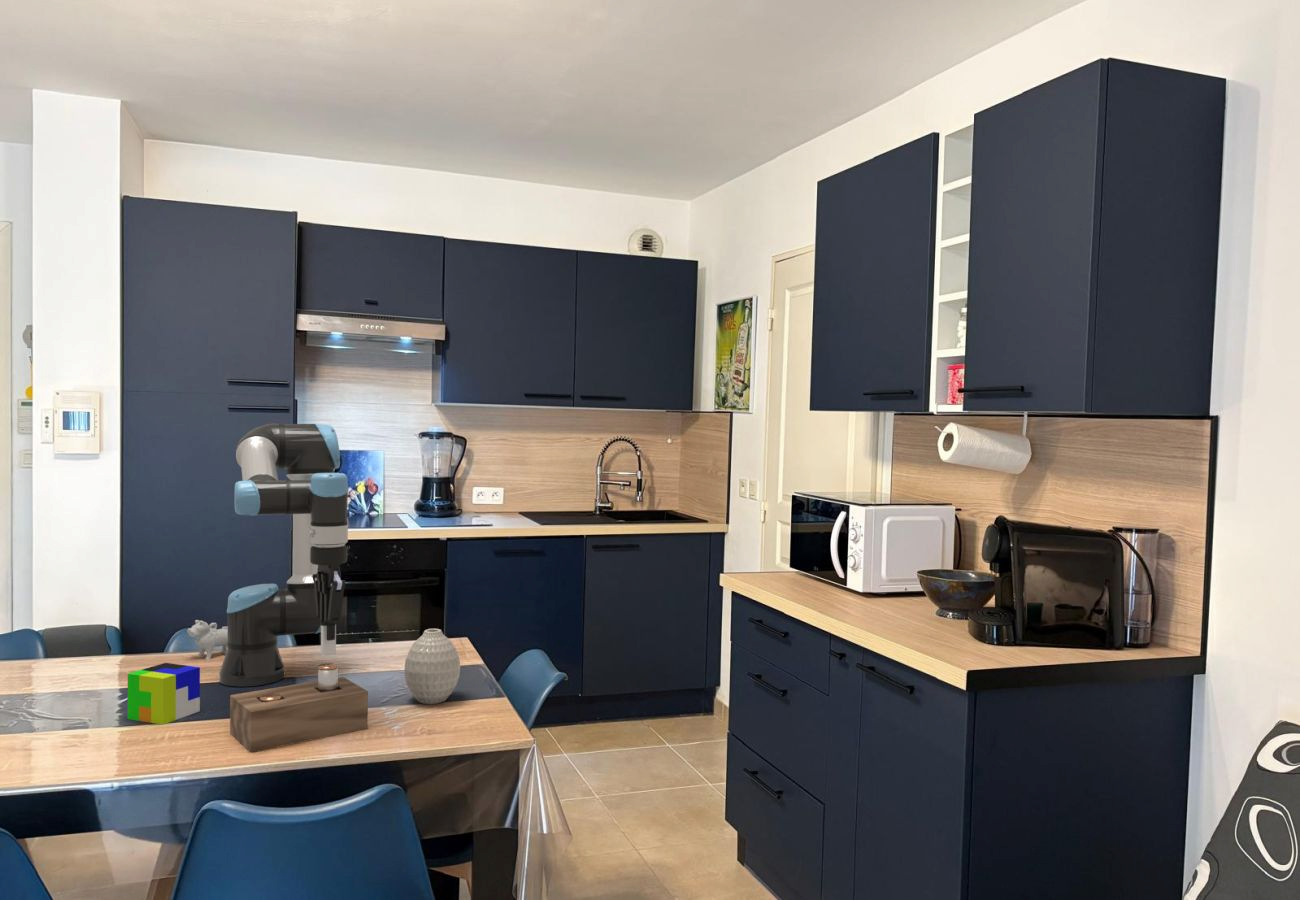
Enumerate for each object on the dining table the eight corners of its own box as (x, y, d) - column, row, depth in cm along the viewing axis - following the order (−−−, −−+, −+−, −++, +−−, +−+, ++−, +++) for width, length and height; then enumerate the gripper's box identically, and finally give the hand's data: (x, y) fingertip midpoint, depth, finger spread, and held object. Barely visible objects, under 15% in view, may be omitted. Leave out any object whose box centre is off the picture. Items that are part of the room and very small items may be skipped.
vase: (470, 697, 222) (471, 627, 221) (437, 711, 210) (437, 638, 209) (427, 689, 227) (428, 622, 226) (392, 703, 215) (393, 632, 215)
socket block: (230, 733, 193) (230, 695, 193) (342, 711, 209) (342, 676, 209) (250, 752, 183) (250, 712, 182) (367, 728, 198) (367, 691, 198)
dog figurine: (183, 659, 251) (182, 620, 250) (227, 650, 261) (227, 613, 261) (193, 663, 248) (193, 623, 247) (238, 653, 258) (238, 615, 258)
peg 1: (257, 731, 192) (257, 696, 192) (277, 728, 195) (277, 692, 194) (263, 737, 189) (263, 700, 189) (283, 733, 192) (283, 697, 191)
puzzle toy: (199, 711, 208) (199, 667, 207) (163, 724, 198) (163, 678, 198) (165, 706, 211) (165, 662, 211) (127, 719, 201) (127, 673, 201)
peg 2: (315, 699, 200) (315, 664, 199) (333, 696, 202) (333, 662, 202) (322, 703, 197) (322, 668, 196) (340, 700, 199) (340, 665, 199)
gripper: (300, 543, 201) (300, 651, 201) (322, 549, 191) (322, 663, 191) (334, 540, 206) (334, 646, 206) (358, 546, 196) (357, 657, 196)
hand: (328, 654), depth 199 cm, fingers closed
